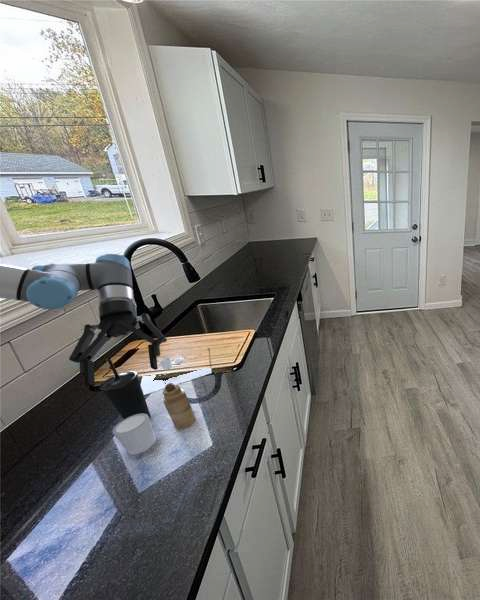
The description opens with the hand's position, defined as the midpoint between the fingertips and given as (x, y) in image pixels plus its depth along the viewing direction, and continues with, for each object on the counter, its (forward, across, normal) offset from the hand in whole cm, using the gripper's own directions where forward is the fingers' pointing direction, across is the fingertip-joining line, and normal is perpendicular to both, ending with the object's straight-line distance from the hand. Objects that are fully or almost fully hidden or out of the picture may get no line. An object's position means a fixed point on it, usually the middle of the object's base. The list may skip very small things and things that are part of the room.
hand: (123, 376), depth 82 cm
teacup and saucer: (-6, -6, -25) cm, 26 cm away
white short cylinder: (+19, -2, 0) cm, 19 cm away
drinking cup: (+11, 0, -8) cm, 13 cm away
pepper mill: (+16, -11, -2) cm, 20 cm away
